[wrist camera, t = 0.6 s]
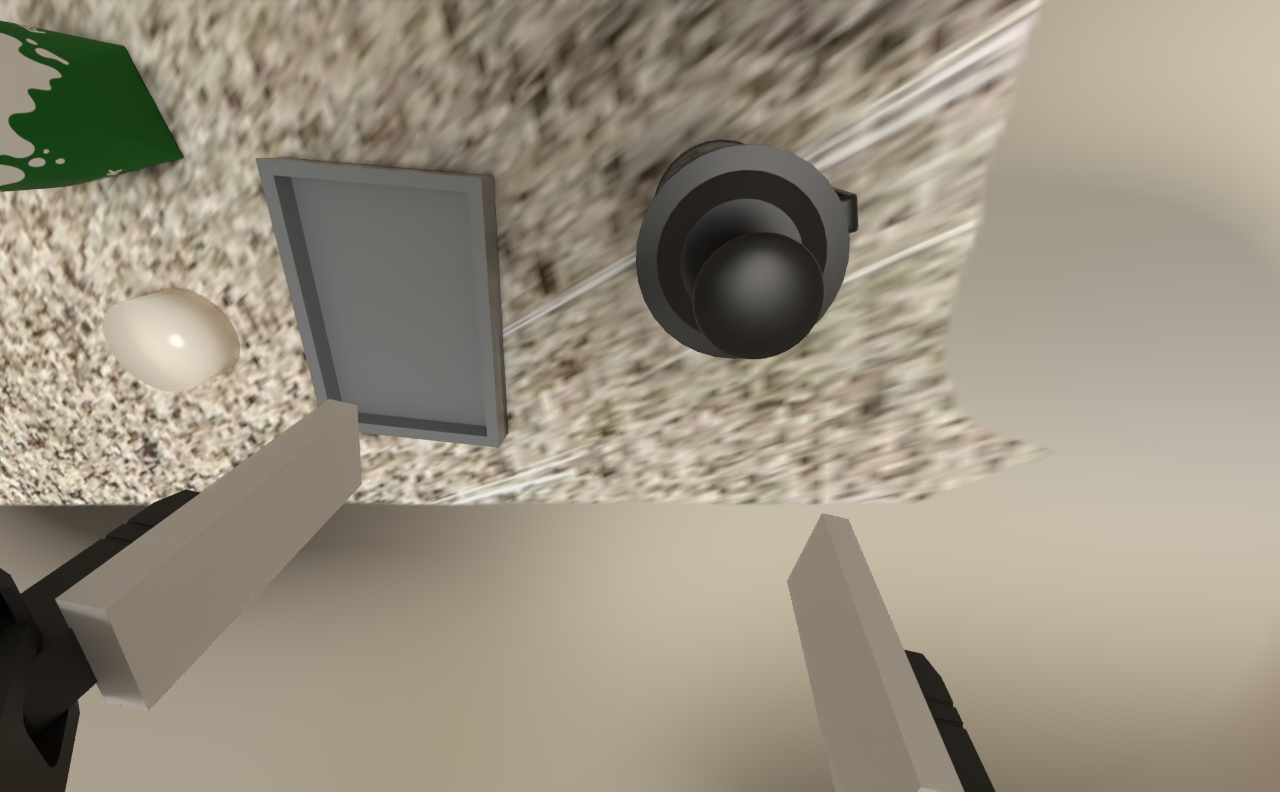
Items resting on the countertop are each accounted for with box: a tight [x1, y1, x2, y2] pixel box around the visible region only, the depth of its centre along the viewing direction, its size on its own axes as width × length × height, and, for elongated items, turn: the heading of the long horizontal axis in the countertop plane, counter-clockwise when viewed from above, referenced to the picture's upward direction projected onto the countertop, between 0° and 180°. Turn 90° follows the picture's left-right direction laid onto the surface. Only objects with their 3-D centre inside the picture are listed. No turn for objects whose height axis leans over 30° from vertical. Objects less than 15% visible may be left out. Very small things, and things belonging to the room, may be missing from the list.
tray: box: [256, 157, 508, 448], centre depth 41 cm, size 22×16×2 cm
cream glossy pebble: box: [103, 288, 240, 392], centre depth 43 cm, size 8×8×4 cm
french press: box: [636, 140, 858, 359], centre depth 26 cm, size 12×9×23 cm
